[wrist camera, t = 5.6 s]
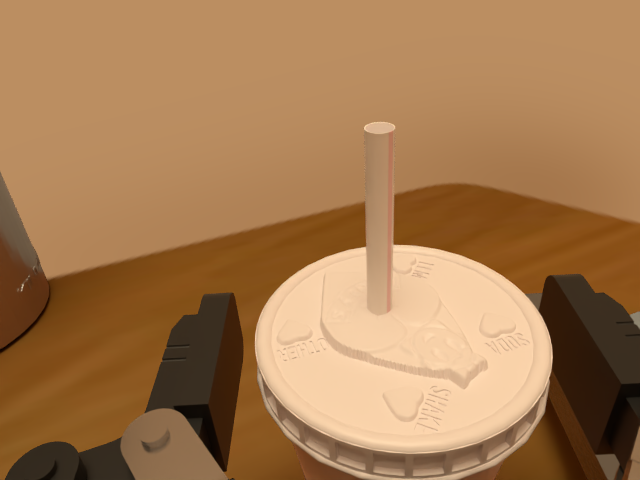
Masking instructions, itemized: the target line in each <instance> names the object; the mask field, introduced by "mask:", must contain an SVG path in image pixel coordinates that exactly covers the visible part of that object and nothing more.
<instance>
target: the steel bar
mask: <svg viewBox="0 0 640 480" xmlns="http://www.w3.org/2000/svg"><path fill="white" fill-rule="evenodd" d="M525 295H526V296H527V297H528V298H529V300H530V301H531V302H532V303H533V305H534V306H535V307H536V309H537V310H538V311H539V306H540V302H541V297H542V293H535V294H525ZM549 380H550V384H549V390H548V396H549V399H550V401H551V403H552V405H553V407H554V409H555V411H556V413H557V416H558V418H559V420H560V422H561V424H562V426H563V428H564V431H565V433H566V435H567V437H568V439H569V441H570V443H571V445H572V448H573V450H574V452H575V454H576V456H577V458H578V460H579V462H580V465H581V467H582V469H583V471H584V473H585V475H586V477H587V479H588V480H614V478H615V474H616V471H617V469H618V466H619V464H620V463H619V462H618V460H617V458H616V456H615V454H606V455H595V453H594V451H593V450H592V448H591V446H590V444H589V442H588V440H587V438H586V436H585V434H584V432H583V430H582V428H581V426H580V424H579V422H578V420H577V418H576V416H575V414H574V412H573V410H572V408H571V406H570V404H569V402H568V400H567V398H566V396H565V394H564V392H563V390H562V388H561V386H560V384H559V382H558V380H557V378H556V376H555V374H554V372H553V370H552V369H551V373H550V377H549Z"/></svg>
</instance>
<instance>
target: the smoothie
mask: <svg viewBox="0 0 640 480" xmlns="http://www.w3.org/2000/svg"><path fill="white" fill-rule="evenodd" d="M364 140H365V141H364V143H365V204H366V247H363V248H357V249H352V250H347V251H344V252H341V253H337V254H334V255H331V256H328V257H325V258H323V259H321V260H319V261H317V262H314V263H312V264H310V265H308V266H306V267H305V268H303V269H302V270H300V271H299V272H297V273H296V274H294V275H293V276H291V277H290V278H289V279H288V280H287V281H285V282H284V283H283V284H282V285H281V286H280V287H279V288H278V289H277V290H276V291H275V292H274V294H273V295H272V296H271V298H270V299H269V300H268V302H267V304H266V305H265V307H264V309H263V311H262V313H261V315H260V318H259V321H258V324H257V329H256V334H255V351H256V358H257V363H258V373H257V381H258V384H259V387H260V390H261V394H262V397H263V400H264V403H265V407H266V410H267V411H268V412H269V414H270V415H271V416H272V418H273V419H274V421H275V422H276V423H277V425H278V426H279V427H280V429H281V430H282V432H283V433H284V434H285V436H286V437H287V438H288V439H289V440H291V441H292V444H293V446H294V449H295V451H296V453H297V456H298V459H299V462H300V464H301V467H302V470H303V473H304V476H305V479H306V480H494V479H495V477H496V475H497V473H498V471H499V469H500V467H501V465H502V463H503V461H504V459H506V458H507V457H508V456H510V455H511V454H512V453H513V452H515V451H516V450H517V449H519V448H520V447H521V446H522V445H524V444H525V443H526V442H527V441H528V439H529V437H530V436H531V434H532V432H533V431H534V429H535V428H536V426H537V424H538V423H539V421H540V420H541V418H542V416H543V415H544V413H545V407H546V402H547V396H548V390H549V384H550V380H549V377H550V373H551V369H552V359H553V356H552V344H551V339H550V335H549V332H548V329H547V326H546V324H545V322H544V320H543V318H542V316H541V315H540V313H539V312H538V310H537V309H536V307H535V306H534V305H533V303H532V302H531V301H530V300H529V298H528V297H527V296H526V295H525V294H524V293H523V292H522V291H521V290H520V289H519V288H517V287H516V286H515V285H514V284H513V283H511V282H510V281H509V280H507V279H506V278H505V277H503V276H502V275H500V274H498V273H497V272H495V271H493V270H491V269H490V268H488V267H486V266H484V265H483V264H480V263H478V262H476V261H473V260H471V259H468V258H466V257H463V256H461V255H457V254H454V253H450V252H446V251H442V250H439V249H433V248H426V247H420V246H409V245H393V229H394V170H395V168H394V167H395V126H394V125H393V124H391V123H387V122H375V123H370V124H368V125H366V126H365V127H364Z"/></svg>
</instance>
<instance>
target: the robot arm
mask: <svg viewBox="0 0 640 480" xmlns="http://www.w3.org/2000/svg"><path fill="white" fill-rule="evenodd" d="M48 297H49V284H48V282H47V279H46V277H45V274H44V272H43V270H42V267H41V265H40V261H39V258H38V255H37V253H36V251H35V249H34V247H33V246H32V244H31V242H30V240H29V237H28V235H27V233H26V230H25V228H24V226H23V223H22V221H21V218H20V216H19V214H18V211H17V209H16V207H15V205H14V202H13V200H12V198H11V195H10V193H9V191H8V189H7V186H6V184H5V182H4V180H3V177H2V175H1V173H0V349H1V348H3V347H5V346H6V345H8V344H9V343H10V342H12V341H13V340H14V339H15V338H17V337H18V336H19V335H21V334H22V333H23V332H24V331H25V330H26V329H27V328H28V327H29V326H30V325H31V324H32V323H33V322H34V321H35V320H36V319H37V317H38V316H39V315H40V313H41V312H42V310H43V309H44V307H45V305H46V302H47V300H48ZM538 312H539V313H540V315H541V316H542V318H543V320H544V322H545V324H546V326H547V329H548V332H549V335H550V339H551V344H552V356H553V359H552V370H553V372H554V374H555V376H556V378H557V380H558V382H559V384H560V386H561V388H562V390H563V392H564V394H565V396H566V398H567V400H568V402H569V404H570V406H571V408H572V410H573V412H574V414H575V416H576V418H577V420H578V422H579V424H580V426H581V428H582V430H583V432H584V434H585V436H586V438H587V440H588V442H589V444H590V446H591V448H592V450H593V451H594V453H595V455H606V454H615V456H616V458H617V460H618V462H619V463H620V464H619V466H618V469H617V471H616V474H615V478H614V480H640V329H639V327H638V326H637V325H636V324H634V321H633V319H632V318H631V317H630V315H629V314H628V313H627V311H626V310H625V309H624V307H623V306H622V305H621V304H619V303H618V302H616V301H615V300H613V299H612V298H611V297H609V296H608V295H606V294H605V293H595V292H594V291H593V289H592V288H591V286H590V285H589V284H588V282H587V281H586V279H585V278H584V277H583V276H582V275H581V274H568V275H550V276H548V277H547V278H546V280H545V284H544V288H543V293H542V297H541V302H540V306H539V311H538ZM242 363H243V337H242V331H241V326H240V321H239V316H238V311H237V306H236V300H235V296H234V294H233V293H218V294H204V295H203V298H202V301H201V305H200V308H199V312H198V314H196V315H184V316H183V317H182V318H181V319H180V321H179V322H178V323H177V324H176V325H175V326H174V328H173V329H172V330H171V333H170V336H169V339H168V343H167V349H165V352H164V355H163V358H162V362H161V364H160V367H159V371H158V374H157V377H156V380H155V383H154V386H153V389H152V392H151V395H150V399H149V402H148V405H147V408H146V411H145V413H144V414H143V415H141V416H139V417H138V418H136V419H135V420H134V421H133V422H132V423H131V424H130V425H129V426H128V427H127V429H126V430H125V432H124V434H123V436H122V437H121V438H119V439H117V440H115V441H112V442H110V443H107V444H104V445H101V446H98V447H95V448H92V449H89V450H86V451H83V452H80V453H78V452H77V450H76V449H75V448H74V446H72V445H71V444H69V443H66V442H50V443H46V444H42V445H40V446H38V447H35V448H34V449H32V450H30V451H29V452H27V453H26V454H24V455H23V456H22V457H21V458H20V459H19V460H18V461H17V462H16V463H15V464H14V465H13V466H12V468H11V469H10V470H9V472H8V474H7V476H6V478H5V480H229V479H228V478H227V477H226V475H225V474H224V472H226V471H227V464H228V458H229V451H230V444H231V437H232V430H233V424H234V417H235V410H236V403H237V397H238V390H239V383H240V376H241V369H242ZM230 480H235V479H233V478H232V479H230Z"/></svg>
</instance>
